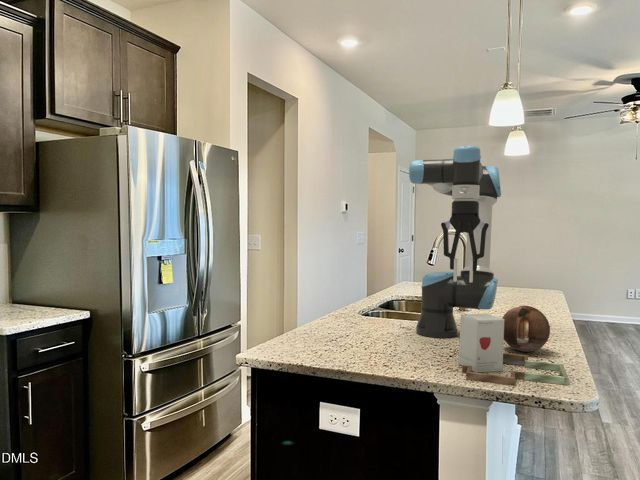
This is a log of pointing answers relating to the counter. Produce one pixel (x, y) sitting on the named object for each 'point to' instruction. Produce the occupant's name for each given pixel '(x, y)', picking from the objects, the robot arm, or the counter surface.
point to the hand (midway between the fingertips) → (463, 281)
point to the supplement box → (481, 342)
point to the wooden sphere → (525, 328)
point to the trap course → (520, 361)
